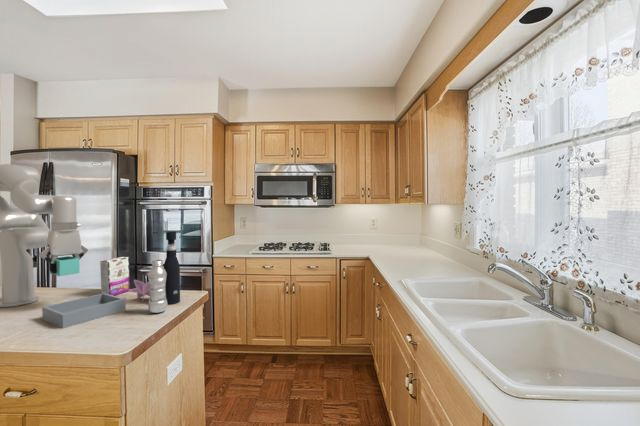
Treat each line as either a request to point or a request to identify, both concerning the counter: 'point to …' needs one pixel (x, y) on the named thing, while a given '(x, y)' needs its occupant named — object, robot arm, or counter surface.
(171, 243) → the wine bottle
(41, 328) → the counter surface
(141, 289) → the lily
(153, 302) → the silver ribbed bottle
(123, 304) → the gray crate
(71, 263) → the teal crate
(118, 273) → the candy bar box
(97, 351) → the counter surface
